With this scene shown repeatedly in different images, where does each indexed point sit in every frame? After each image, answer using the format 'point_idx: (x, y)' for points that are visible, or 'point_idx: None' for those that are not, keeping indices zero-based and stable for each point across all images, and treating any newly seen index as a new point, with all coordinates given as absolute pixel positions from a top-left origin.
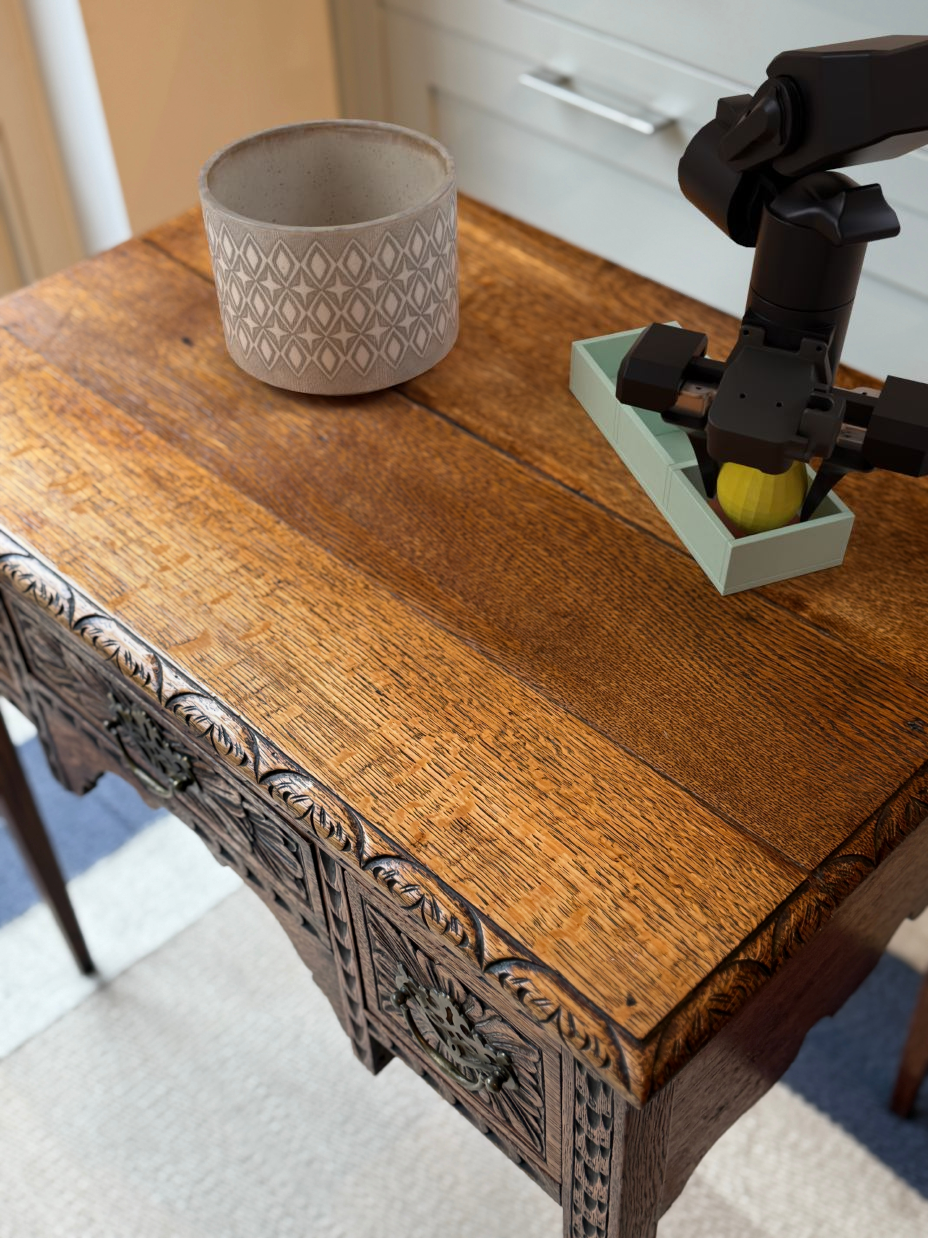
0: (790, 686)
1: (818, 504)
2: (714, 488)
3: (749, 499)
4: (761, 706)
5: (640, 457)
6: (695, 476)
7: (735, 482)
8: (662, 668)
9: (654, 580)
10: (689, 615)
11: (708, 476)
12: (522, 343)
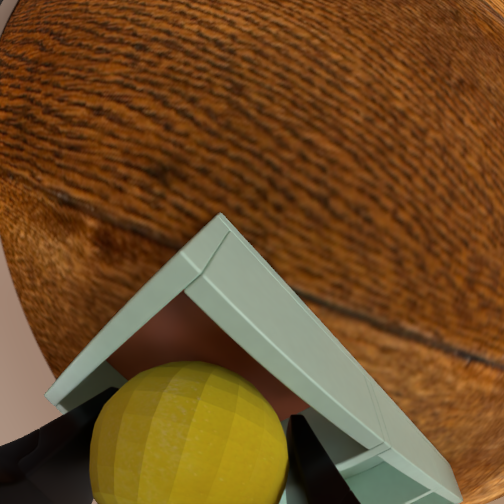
0: (82, 66)
1: (66, 413)
2: (291, 434)
3: (176, 421)
4: (114, 13)
5: (411, 438)
6: (332, 444)
7: (227, 464)
8: (276, 3)
9: (357, 211)
10: (268, 136)
11: (310, 457)
12: (470, 472)
